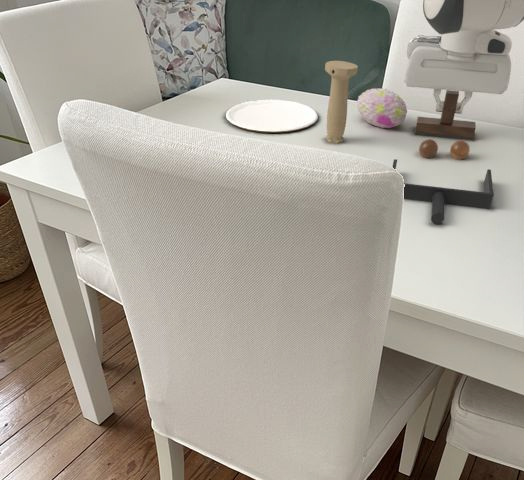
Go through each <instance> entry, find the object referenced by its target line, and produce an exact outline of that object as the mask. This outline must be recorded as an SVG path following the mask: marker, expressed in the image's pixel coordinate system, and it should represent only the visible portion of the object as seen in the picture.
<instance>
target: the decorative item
mask: <svg viewBox="0 0 524 480" xmlns="http://www.w3.org/2000/svg"><path fill="white" fill-rule="evenodd" d="M357 98H358V99H357V100H356V108H357V111H358V114H360V116H361V117H362V119H363V120H364V121H366V122H367V123H368V124H370V125H371V126H375V127H377V128H381V129H392V128H394V127H398V126H399V125H401V124H402V123H403V122H404V121H405V120H406V118H407V114H408V109H407V104H406V102H405V101H404V100H403V98H402V97H400V95H399V94H397V93H395V92H394V91H391V90H389V89H387V88H376V87H375V88H371V89H367V90H365V91H364V92H361V94H360V95H359V96H358V97H357Z"/></svg>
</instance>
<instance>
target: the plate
mask: <svg viewBox="0 0 524 480" xmlns="http://www.w3.org/2000/svg"><path fill="white" fill-rule="evenodd" d="M318 117H319V116H318V113H317V112H316V111H315V109H314V108H312V107H310V106H309V105H306V104H303V103H300V102H296V101H291V100H283V99H257V100H250V101H244V102H241V103H238V104H236V105H234V106H231V107H230V108H229V109H228V110H226V114H225V118H226V120H227V121H228V122H229V123H230V124H231V125H233V126H235V127H237V128H239V129H242V130H246V131H249V132H256V133H264V134H265V133H267V134H269V133H270V134H281V133H290V132H296V131H301V130H303V129H304V130H305V129H307V128H309V127H311V126H312V125H315V123H316V122H317V121H318Z"/></svg>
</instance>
